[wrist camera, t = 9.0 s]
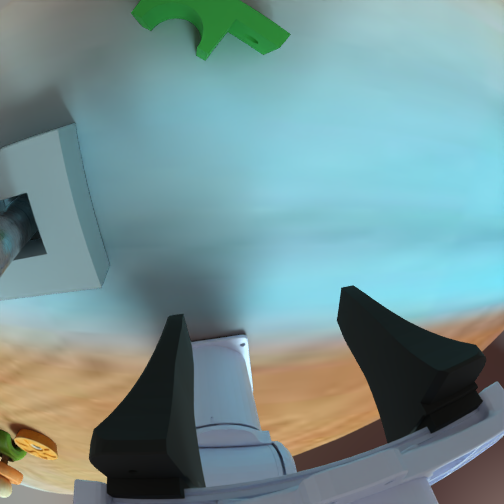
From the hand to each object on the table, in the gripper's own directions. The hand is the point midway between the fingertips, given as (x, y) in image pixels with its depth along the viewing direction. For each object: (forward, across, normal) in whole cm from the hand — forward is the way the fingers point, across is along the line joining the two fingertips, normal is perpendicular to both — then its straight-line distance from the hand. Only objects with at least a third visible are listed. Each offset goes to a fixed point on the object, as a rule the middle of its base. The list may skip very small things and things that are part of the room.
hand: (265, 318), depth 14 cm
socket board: (+10, +16, -4) cm, 19 cm away
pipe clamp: (+11, +2, -14) cm, 18 cm away
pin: (+10, +16, -4) cm, 19 cm away
